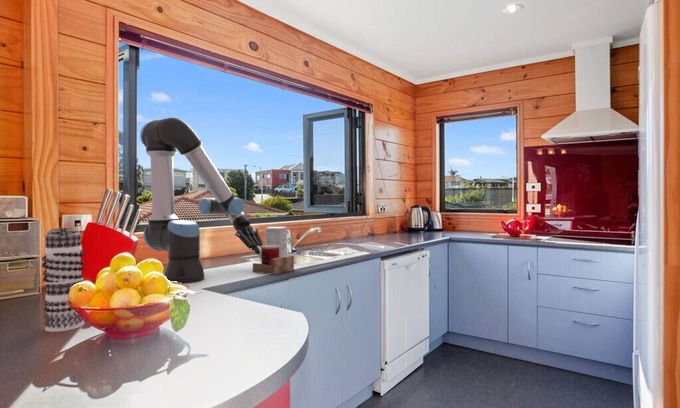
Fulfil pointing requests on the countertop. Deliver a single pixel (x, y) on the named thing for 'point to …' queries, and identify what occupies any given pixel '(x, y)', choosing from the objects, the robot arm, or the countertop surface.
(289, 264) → the dock
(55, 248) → the decorative candle
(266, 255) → the canned food
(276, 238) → the white canister
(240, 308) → the countertop surface
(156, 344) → the countertop surface
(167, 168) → the robot arm
